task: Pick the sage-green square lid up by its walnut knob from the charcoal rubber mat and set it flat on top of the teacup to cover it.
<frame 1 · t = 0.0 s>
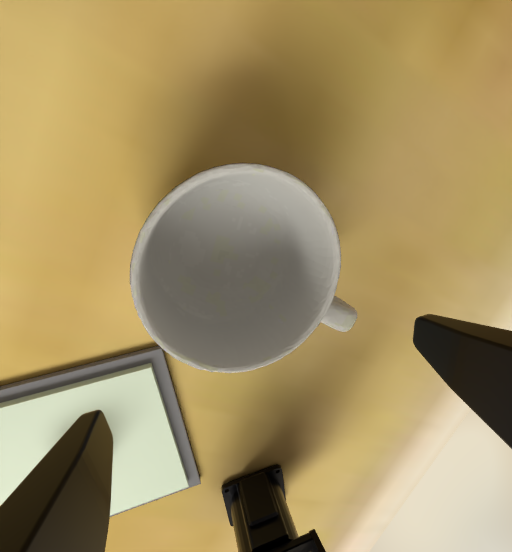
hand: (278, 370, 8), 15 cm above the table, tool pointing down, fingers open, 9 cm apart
mat: (85, 450, 24), on the table
teacup: (236, 253, 22), on the table
lid: (84, 455, 24), resting on mat
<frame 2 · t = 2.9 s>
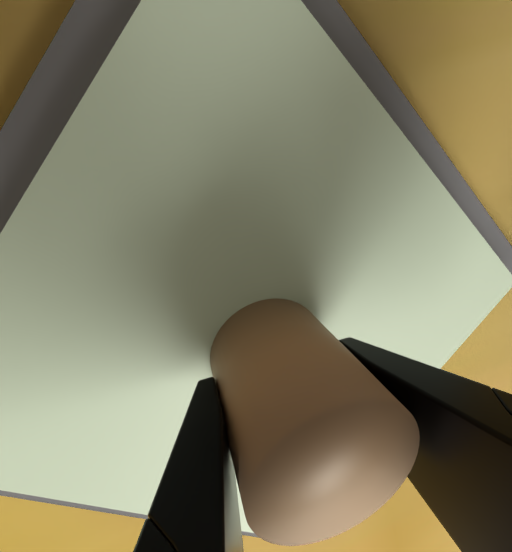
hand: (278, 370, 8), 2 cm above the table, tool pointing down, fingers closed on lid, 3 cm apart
mat: (257, 332, 10), on the table
lid: (262, 340, 9), resting on mat, touching gripper
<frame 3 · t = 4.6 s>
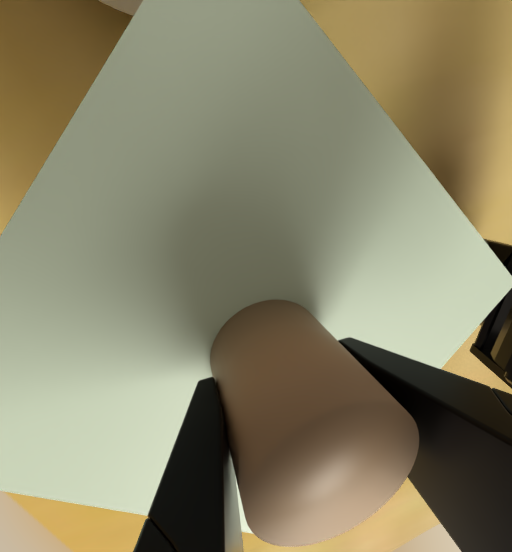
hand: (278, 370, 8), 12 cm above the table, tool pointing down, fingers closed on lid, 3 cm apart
lid: (262, 341, 9), point 11 cm above the table, touching gripper
when the fingers open (10 cm above the table, at t = 6.5 s): lid drops 1 cm, resting on teacup.
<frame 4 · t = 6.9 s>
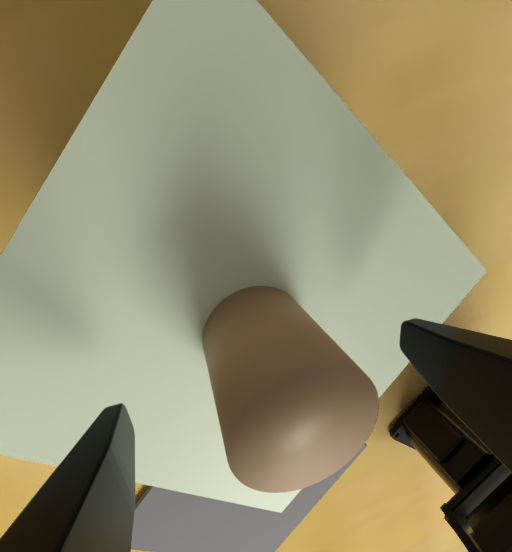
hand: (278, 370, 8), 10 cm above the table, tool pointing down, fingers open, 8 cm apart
mat: (248, 485, 25), on the table
lid: (250, 325, 10), point 8 cm above the table, touching teacup
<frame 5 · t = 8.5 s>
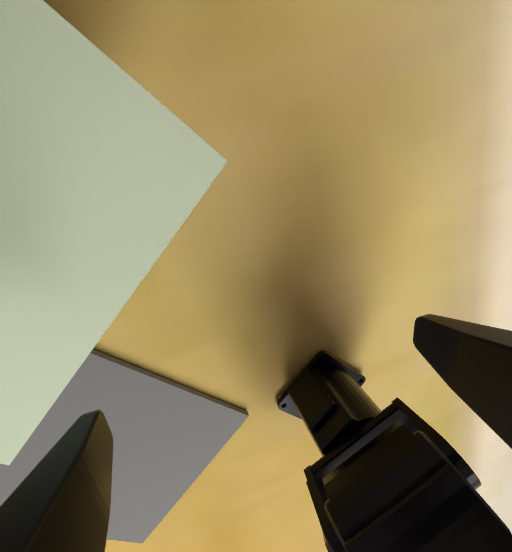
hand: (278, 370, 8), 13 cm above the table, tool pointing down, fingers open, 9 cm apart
mat: (107, 455, 23), on the table
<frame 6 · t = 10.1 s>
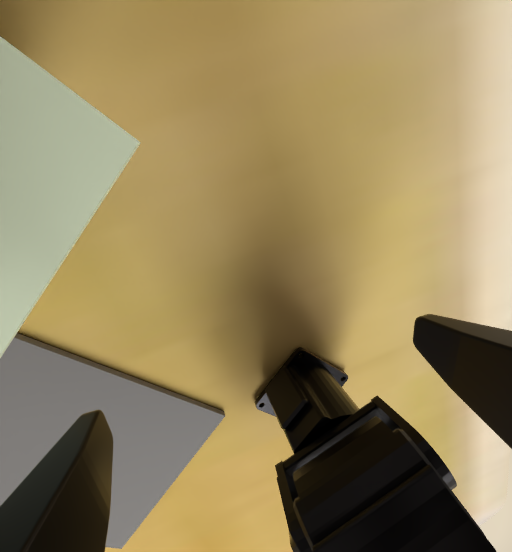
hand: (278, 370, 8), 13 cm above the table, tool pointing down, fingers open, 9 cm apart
mat: (79, 457, 22), on the table
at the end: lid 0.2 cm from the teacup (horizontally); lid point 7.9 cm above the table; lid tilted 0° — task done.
